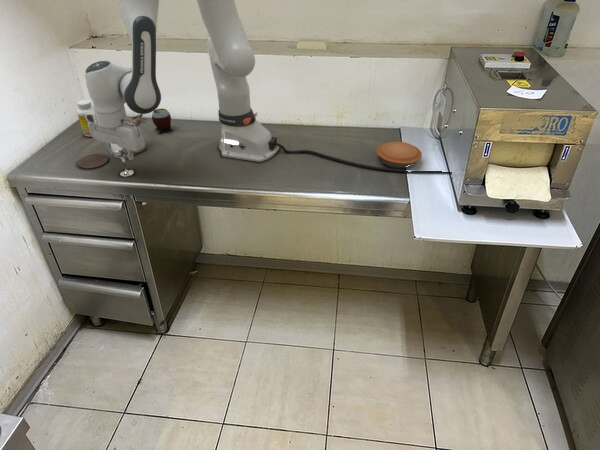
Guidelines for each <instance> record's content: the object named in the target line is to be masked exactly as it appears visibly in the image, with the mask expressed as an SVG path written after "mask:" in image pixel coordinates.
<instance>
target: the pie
mask: <svg viewBox="0 0 600 450" xmlns="http://www.w3.org/2000/svg"><path fill="white" fill-rule="evenodd" d="M376 153H377V155H378V157H379V158H380V160H381V162H382V164H384V165H385V166H387V167H388V168H391V169H404V170H405V169H408V168H411V167H412V166H413V165H414V164H416V163H417V162H418V161H419V160H421V159H422V156H423V154H422V151H421V150H420V149H419V147H418V146H415V145H413V144H411V143H408V142H404V141H389V142H385V143H382V144H381V145H379V146H377V148H376ZM412 164H413V165H412ZM408 165H411V166H408ZM406 166H408V167H406Z"/></svg>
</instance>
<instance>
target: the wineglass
mask: <svg viewBox="0 0 600 450" xmlns="http://www.w3.org/2000/svg"><path fill="white" fill-rule="evenodd" d="M111 152H112V154H113V155H112V157H114V158H115V159H116V160H117V159H118V160H121V162H122V163H123V166H124V170H122V171H120V173H119V175H120V176H121V177H131V176H132V175H133V174H134V173H135V171H134V170H133V169H127V164H126V159H127V157H126V155H127V154H128V151H126V149H125V148H121V147H119V146H118V145H117V144H114V143H111ZM111 152H110V153H111Z"/></svg>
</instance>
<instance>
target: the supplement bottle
mask: <svg viewBox="0 0 600 450" xmlns="http://www.w3.org/2000/svg"><path fill="white" fill-rule="evenodd" d="M76 104H77V107H78V109H77V110H76V114H77V117H78V120H79V123H80V127H81V130H82V132H83V135H84V136H86V137H88V138H93V137H92V136H91V133H90V130H89V127H88V121H87V120H86V118H85V114H87V113H89V112H91V111H93V110H94V108H93V105H92V100H91V99H90V100H89V99H81V100H78V101H77V102H76Z"/></svg>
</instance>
